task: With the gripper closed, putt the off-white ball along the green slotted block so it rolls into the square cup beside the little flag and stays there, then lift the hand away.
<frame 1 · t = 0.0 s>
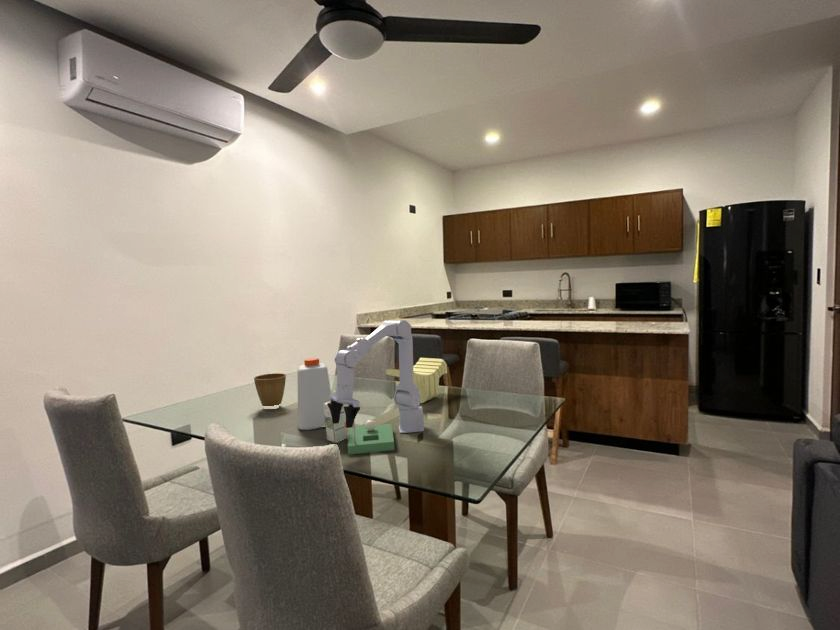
hand: (342, 425, 152), 11 cm above the table, tool pointing down, fingers open, 7 cm apart
slatted curved stool: (419, 399, 220), on the table
green slotted block: (371, 442, 164), on the table
syrup box: (336, 440, 168), on the table
ball: (370, 425, 168), point 5 cm above the table, touching green slotted block
plastic bottle: (316, 424, 189), on the table
plant pot: (272, 408, 219), on the table
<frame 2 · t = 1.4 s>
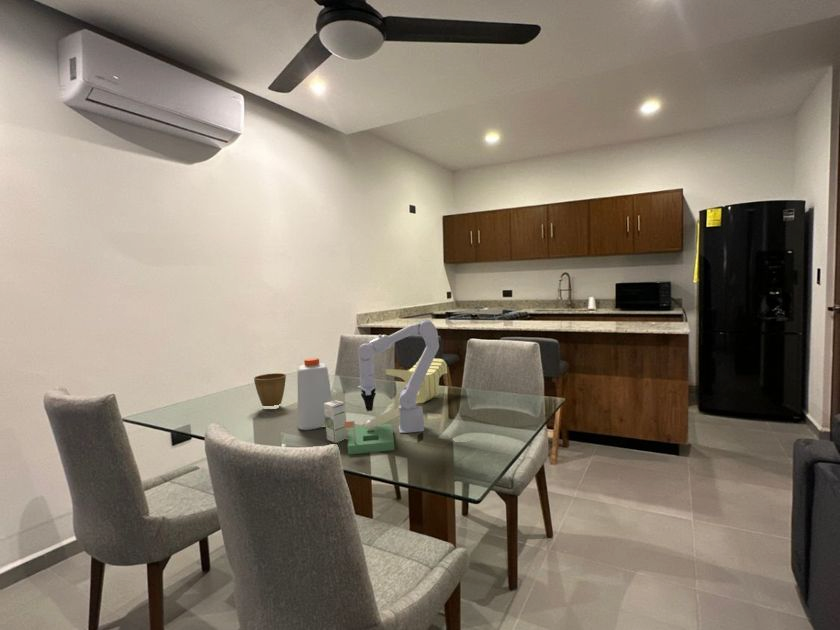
hand: (369, 408, 174), 9 cm above the table, tool pointing down, fingers open, 5 cm apart
nothing on the table moved.
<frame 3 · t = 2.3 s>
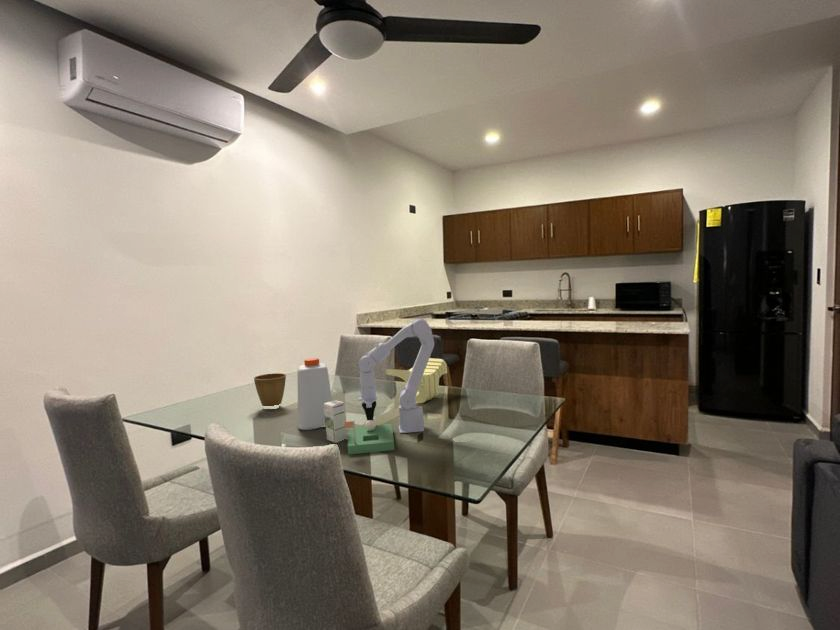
hand: (370, 420, 174), 5 cm above the table, tool pointing down, fingers closed
nothing on the table moved.
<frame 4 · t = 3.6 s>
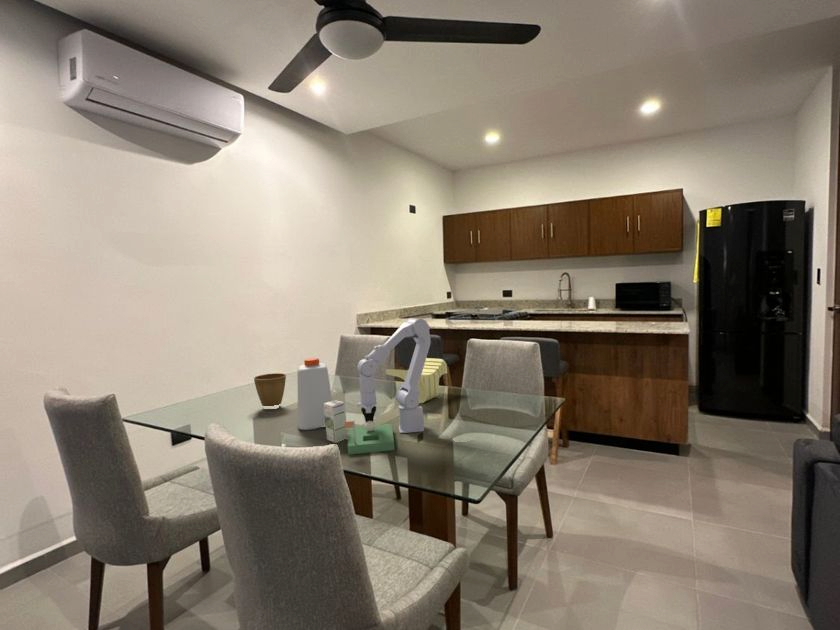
hand: (369, 426, 169), 4 cm above the table, tool pointing down, fingers closed, pressing on ball
ball: (370, 426, 167), point 5 cm above the table, tilted 18°, touching gripper, green slotted block
everything else where it was.
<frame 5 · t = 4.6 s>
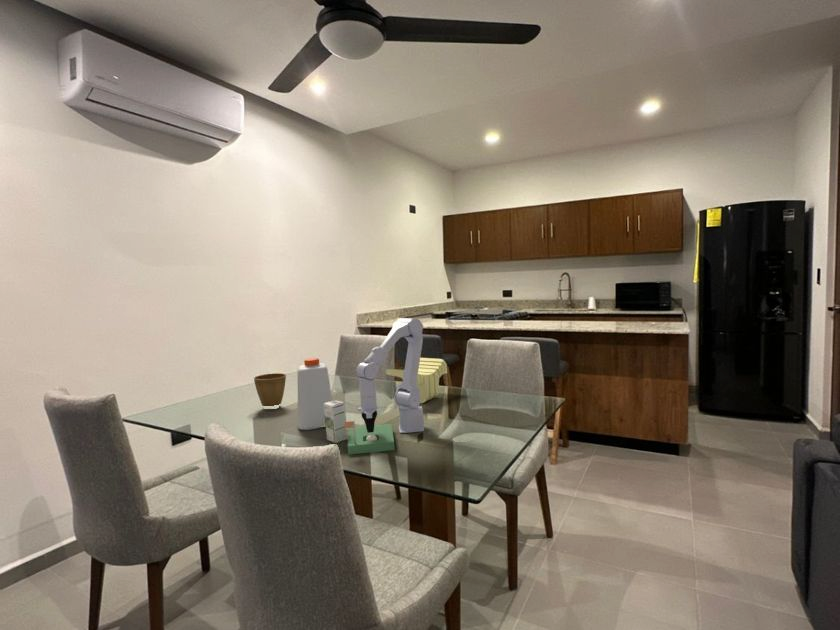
hand: (370, 431, 163), 4 cm above the table, tool pointing down, fingers closed
ball: (371, 440, 160), point 2 cm above the table, tilted 155°, touching green slotted block
everything else where it was.
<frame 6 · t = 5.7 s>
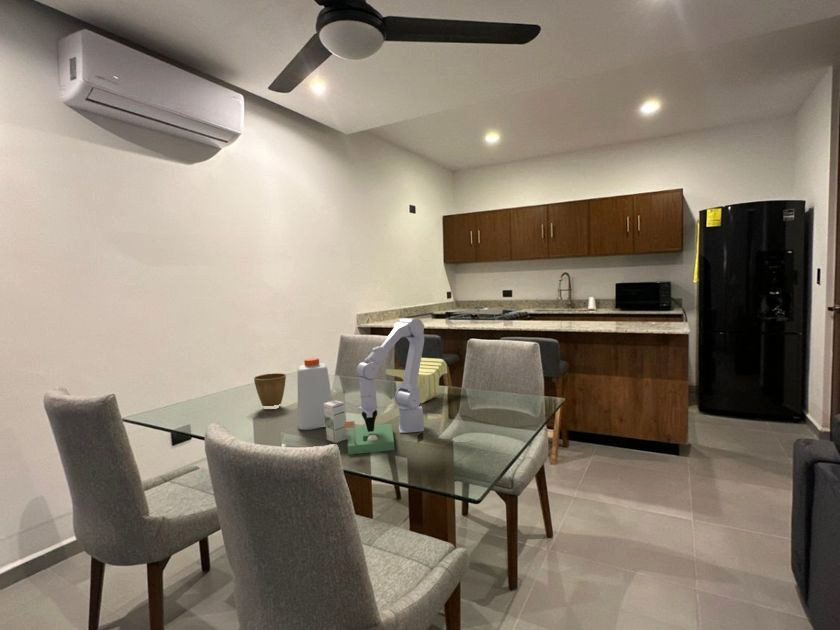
hand: (370, 431, 164), 4 cm above the table, tool pointing down, fingers closed
ball: (372, 440, 159), point 2 cm above the table, tilted 138°, touching green slotted block
everything else where it was.
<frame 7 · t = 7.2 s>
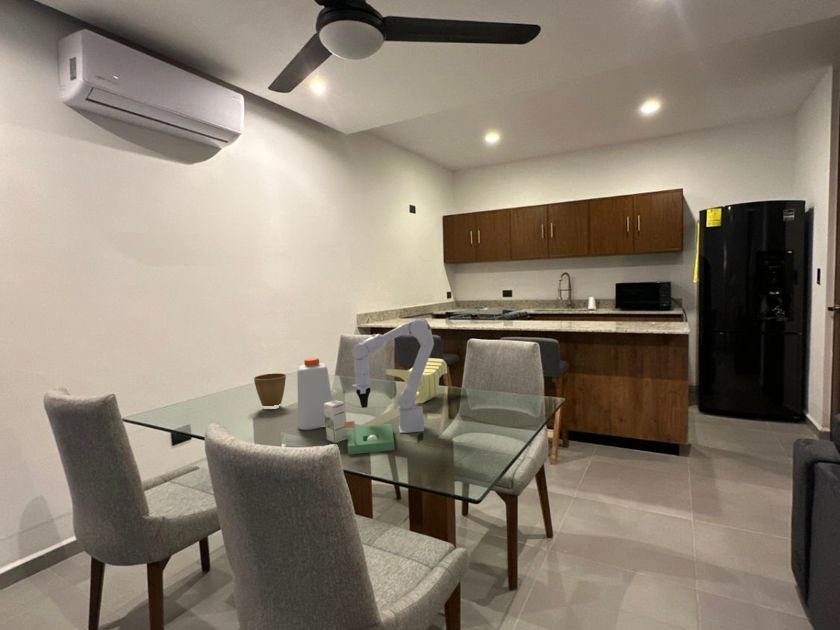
hand: (364, 407, 177), 9 cm above the table, tool pointing down, fingers closed
nothing on the table moved.
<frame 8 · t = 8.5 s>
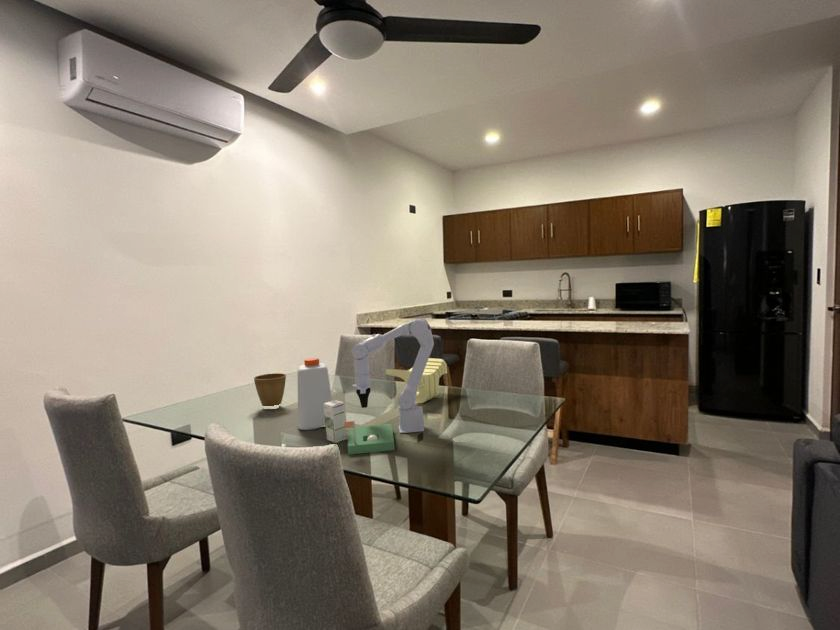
hand: (364, 407, 177), 9 cm above the table, tool pointing down, fingers closed
nothing on the table moved.
at the end: ball 0.8 cm from the target spot on the green slotted block, point 2.2 cm above the green slotted block's base; ball moved 9.1 cm from its start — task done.
